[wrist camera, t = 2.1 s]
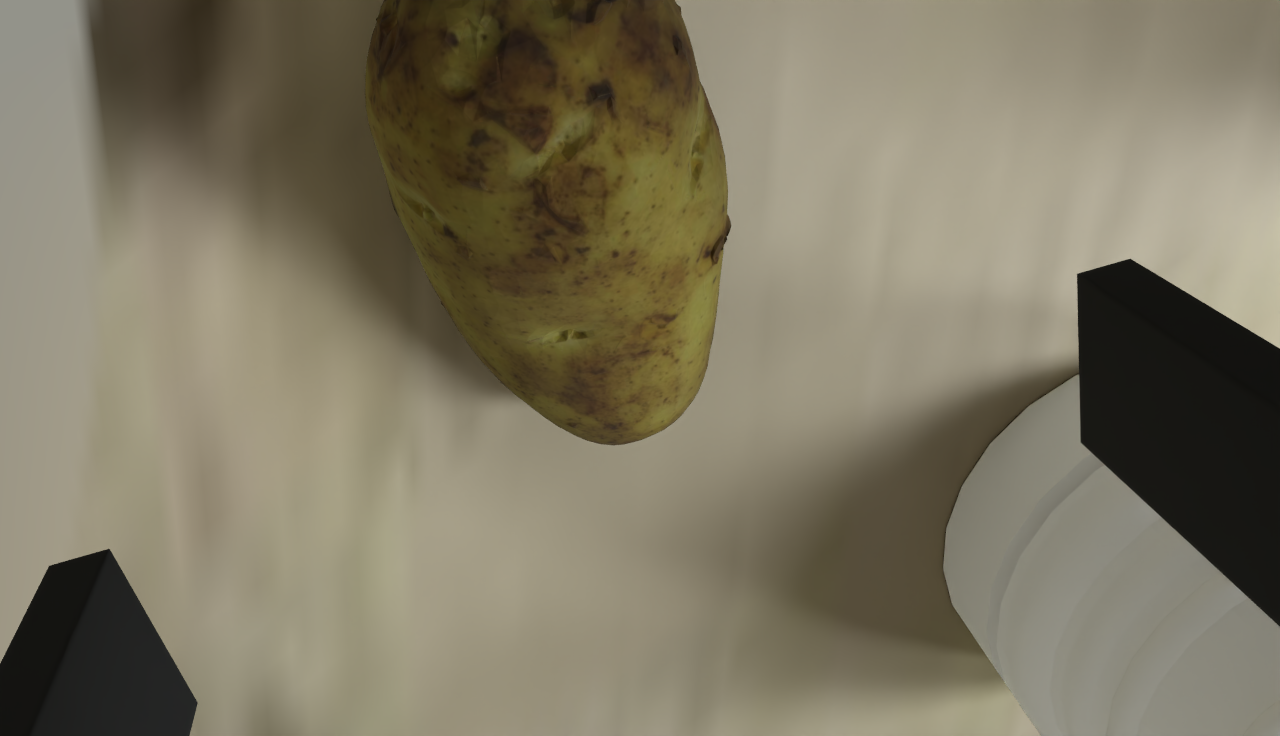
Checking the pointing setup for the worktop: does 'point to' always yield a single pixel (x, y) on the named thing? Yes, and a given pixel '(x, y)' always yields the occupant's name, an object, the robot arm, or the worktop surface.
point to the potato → (559, 196)
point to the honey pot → (1100, 596)
